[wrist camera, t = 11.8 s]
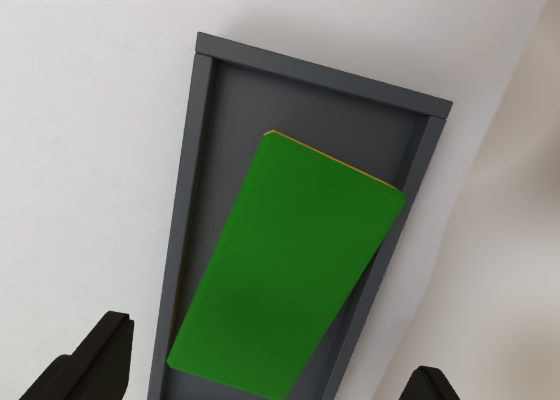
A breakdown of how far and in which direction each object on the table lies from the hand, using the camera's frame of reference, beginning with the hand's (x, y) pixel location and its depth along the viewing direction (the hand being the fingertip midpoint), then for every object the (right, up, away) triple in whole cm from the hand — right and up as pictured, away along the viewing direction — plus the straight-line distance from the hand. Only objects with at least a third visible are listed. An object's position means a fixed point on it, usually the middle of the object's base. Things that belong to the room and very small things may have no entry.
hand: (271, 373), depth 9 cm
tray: (0, +1, +8) cm, 8 cm away
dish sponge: (0, +2, +7) cm, 7 cm away
